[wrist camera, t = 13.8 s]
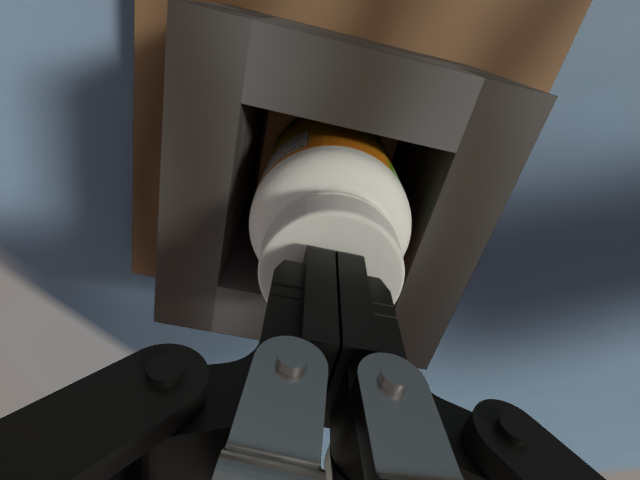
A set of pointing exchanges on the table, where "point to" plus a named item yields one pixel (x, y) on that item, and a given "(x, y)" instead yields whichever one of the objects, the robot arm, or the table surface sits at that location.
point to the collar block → (337, 109)
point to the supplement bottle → (330, 202)
